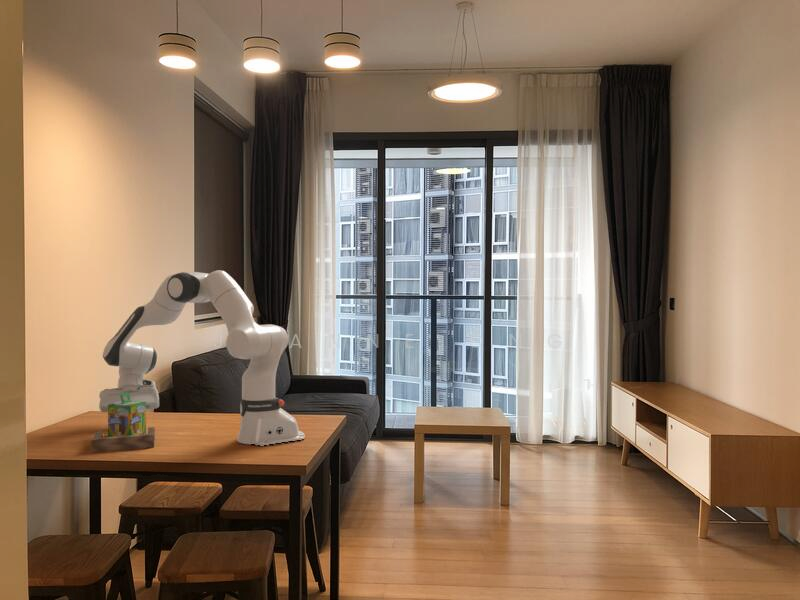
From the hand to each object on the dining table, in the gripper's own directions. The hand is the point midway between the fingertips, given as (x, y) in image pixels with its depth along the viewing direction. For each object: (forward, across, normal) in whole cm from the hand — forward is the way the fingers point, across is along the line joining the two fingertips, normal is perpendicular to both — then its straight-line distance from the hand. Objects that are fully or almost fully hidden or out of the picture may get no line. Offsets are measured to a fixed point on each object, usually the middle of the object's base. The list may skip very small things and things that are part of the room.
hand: (129, 418), depth 215 cm
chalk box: (+9, 0, -3) cm, 9 cm away
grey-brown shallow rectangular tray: (+19, 0, -13) cm, 23 cm away
